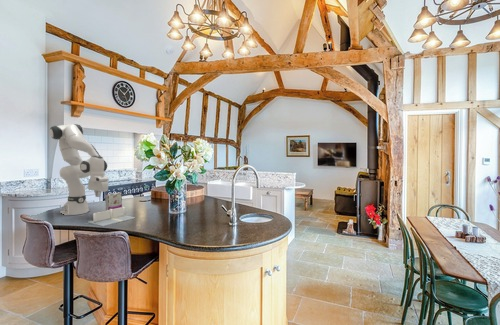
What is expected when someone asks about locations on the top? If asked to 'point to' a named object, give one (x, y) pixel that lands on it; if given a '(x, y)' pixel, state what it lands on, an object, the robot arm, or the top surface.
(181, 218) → the top surface
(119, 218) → the mat
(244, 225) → the top surface
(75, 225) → the top surface
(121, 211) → the fixed fence
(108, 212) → the panel
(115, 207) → the candy bar box
